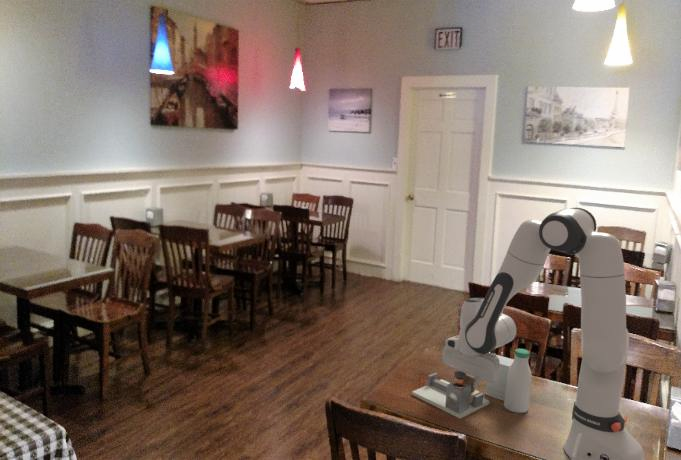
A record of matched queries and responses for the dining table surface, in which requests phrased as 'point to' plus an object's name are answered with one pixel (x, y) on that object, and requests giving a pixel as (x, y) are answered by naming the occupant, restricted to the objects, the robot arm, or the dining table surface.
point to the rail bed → (437, 396)
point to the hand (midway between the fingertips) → (468, 385)
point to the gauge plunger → (459, 379)
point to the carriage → (468, 381)
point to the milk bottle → (518, 383)
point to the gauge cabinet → (458, 397)
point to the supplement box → (500, 379)
